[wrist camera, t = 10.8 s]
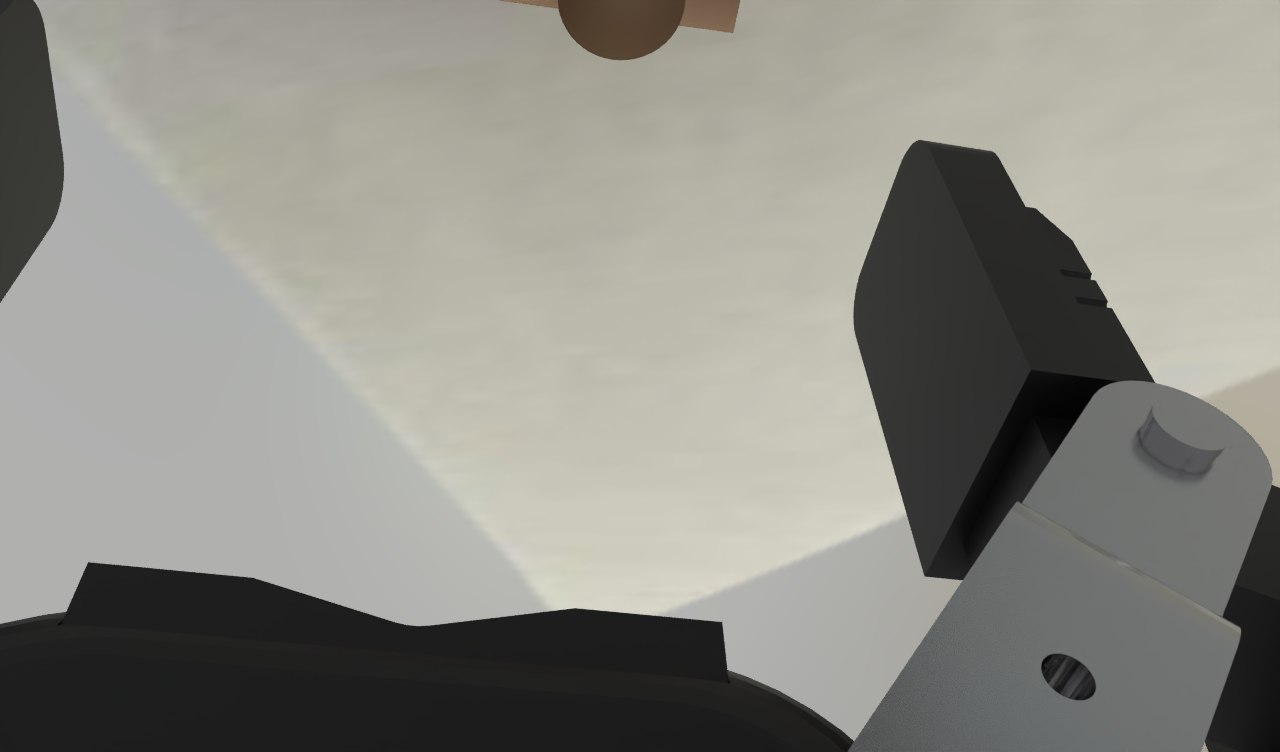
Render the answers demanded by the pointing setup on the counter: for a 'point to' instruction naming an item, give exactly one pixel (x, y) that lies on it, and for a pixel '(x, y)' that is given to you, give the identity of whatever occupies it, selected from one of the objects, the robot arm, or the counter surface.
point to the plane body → (636, 22)
